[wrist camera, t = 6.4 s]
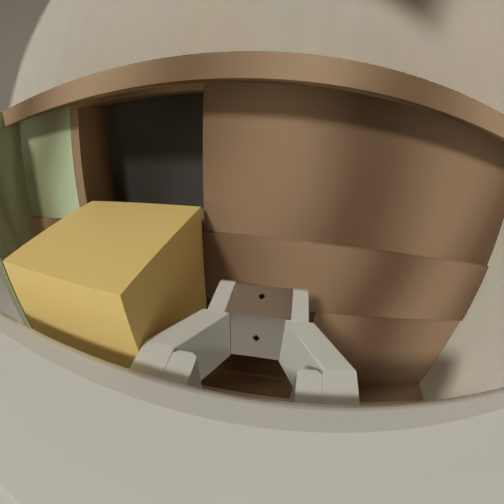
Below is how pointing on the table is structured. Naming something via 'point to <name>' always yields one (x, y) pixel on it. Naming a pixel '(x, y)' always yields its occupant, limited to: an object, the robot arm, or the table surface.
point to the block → (112, 276)
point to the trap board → (283, 192)
